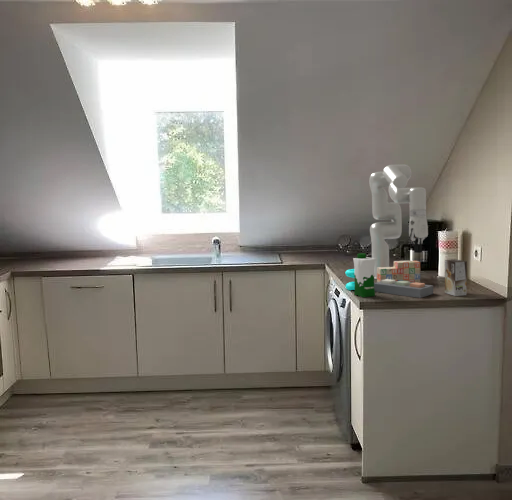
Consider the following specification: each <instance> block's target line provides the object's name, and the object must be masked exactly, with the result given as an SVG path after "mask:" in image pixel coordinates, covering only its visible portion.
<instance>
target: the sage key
mask: <svg viewBox="0 0 512 500" xmlns="http://www.w3.org/2000/svg"><path fill="white" fill-rule="evenodd" d="M395 285H401V286H406V285H410V282H408V281H397V282H395Z"/></svg>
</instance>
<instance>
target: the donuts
mask: <svg viewBox="0 0 512 500" xmlns="http://www.w3.org/2000/svg"><path fill="white" fill-rule="evenodd" d="M345 276H346V277H348V278H351V279H355V269H354V268H351V269H346V271H345ZM345 289H346V290H347V291H351V290H355V281H350V282H348V283H346V284H345Z"/></svg>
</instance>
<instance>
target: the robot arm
mask: <svg viewBox="0 0 512 500" xmlns="http://www.w3.org/2000/svg"><path fill="white" fill-rule="evenodd" d="M411 177H412V169H411V166H409V165H408V164H404V163H403V164H388V165H386V166H385V167H384V168H383V171H376V172H373V173H371V174H370V176H369V182H368V184H369V189H370V192H371V202H372V203H371V207H372V208H371V211H372V218H374V220H376V221H377V220H378V222H374V223H372V224H371V225H370V227H369V235H370V241H371V258H374V259H376V260H375V265H374V280H377V267H390V247H389V244H388V243H387V242H386V240H392V239H393V240H394V239H399V238H400V237H401V236H402V230H403V229H402V228H403V227H402V226H403V225H402V224H403V223H402V208H401V204H409V205H408V206H409V223H408V236H409V238H410V241H412V242H413V252H414V253H415V254H416V253H417V254H421V253H423V241H424V240H425V239H426V238H427V237H429V236H428V235H429V228H428V219H427V190H426V188H424V187H406V186H407V185H408V181H409V180H410V179H411ZM385 188H388V192H387V190H386V189H385ZM388 195H389V196H388ZM389 197H390V198H391V200H392V201H393V202H391V201H390V202H389ZM380 220H381V221H380ZM383 220H384V221H383ZM386 220H387V221H386ZM388 220H389V221H388Z"/></svg>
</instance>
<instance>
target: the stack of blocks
mask: <svg viewBox="0 0 512 500" xmlns="http://www.w3.org/2000/svg"><path fill="white" fill-rule="evenodd" d="M385 279H391V280H395V281H408V282H410V283H415V282H417V283H421V261H419V260H393V266H389V267H377V279H376V282H381V280H385Z"/></svg>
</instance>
